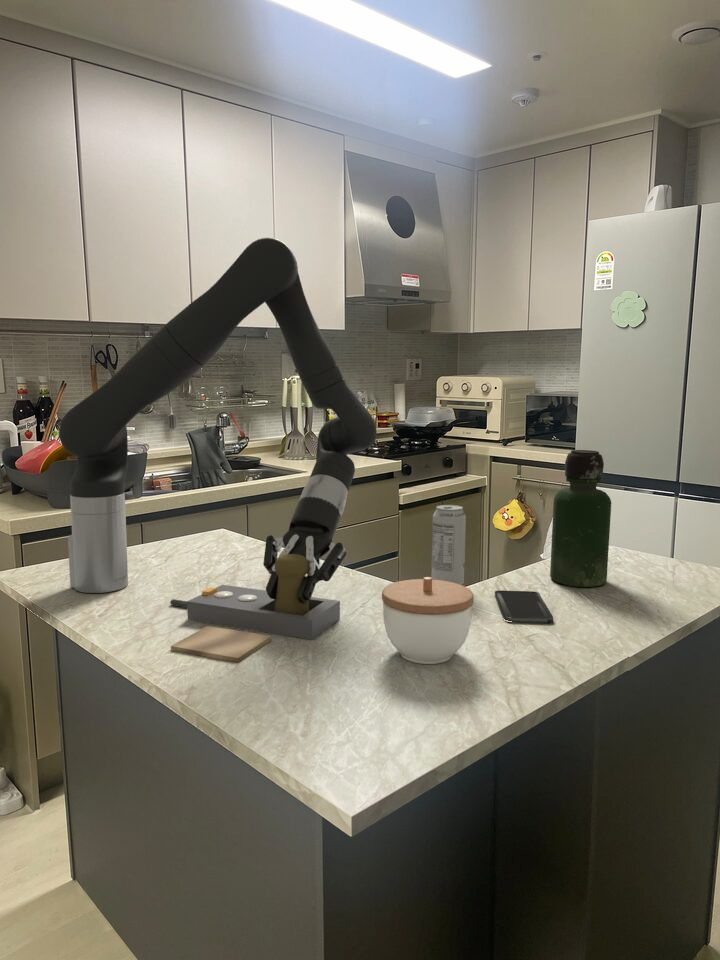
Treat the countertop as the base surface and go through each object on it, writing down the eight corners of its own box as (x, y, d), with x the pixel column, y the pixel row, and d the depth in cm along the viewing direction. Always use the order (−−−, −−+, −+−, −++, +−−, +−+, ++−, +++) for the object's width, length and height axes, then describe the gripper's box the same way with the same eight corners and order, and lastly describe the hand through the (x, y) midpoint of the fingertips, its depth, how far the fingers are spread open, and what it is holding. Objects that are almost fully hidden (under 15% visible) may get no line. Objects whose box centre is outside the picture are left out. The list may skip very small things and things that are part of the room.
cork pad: (171, 649, 100) (170, 645, 100) (207, 629, 108) (207, 625, 108) (238, 662, 96) (238, 658, 96) (271, 640, 104) (271, 636, 104)
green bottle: (539, 579, 137) (545, 450, 133) (568, 570, 144) (575, 447, 140) (588, 592, 129) (596, 455, 126) (616, 581, 136) (624, 452, 133)
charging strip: (151, 613, 115) (151, 592, 115) (188, 596, 124) (188, 576, 124) (312, 639, 104) (312, 616, 104) (339, 618, 114) (339, 597, 113)
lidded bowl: (381, 637, 106) (382, 565, 104) (466, 638, 105) (468, 566, 104) (380, 671, 93) (382, 590, 92) (477, 673, 93) (480, 592, 91)
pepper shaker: (295, 633, 107) (295, 562, 106) (264, 625, 110) (263, 556, 109) (318, 621, 112) (318, 553, 111) (288, 614, 115) (288, 548, 114)
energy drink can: (470, 587, 131) (473, 508, 129) (446, 593, 128) (448, 511, 126) (448, 580, 136) (450, 503, 134) (424, 585, 133) (426, 506, 130)
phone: (504, 618, 113) (494, 590, 127) (504, 624, 113) (493, 596, 128) (555, 619, 112) (538, 591, 127) (555, 626, 112) (538, 597, 127)
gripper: (274, 492, 118) (236, 581, 109) (353, 498, 113) (320, 592, 103) (289, 517, 124) (254, 604, 114) (365, 524, 118) (335, 616, 109)
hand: (286, 598), depth 109 cm, fingers closed on pepper shaker, 4 cm apart
